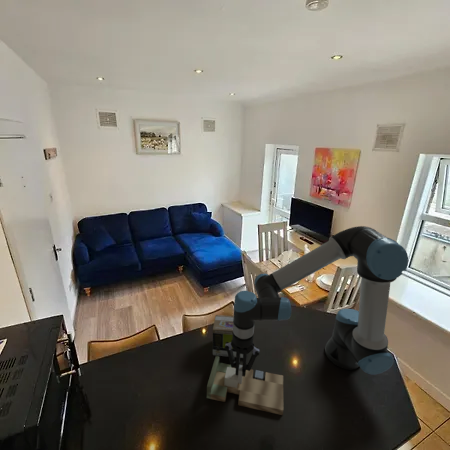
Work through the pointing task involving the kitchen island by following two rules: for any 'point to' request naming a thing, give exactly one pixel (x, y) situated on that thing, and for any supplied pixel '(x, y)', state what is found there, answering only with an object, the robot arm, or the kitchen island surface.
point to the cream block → (231, 378)
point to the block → (259, 375)
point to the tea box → (222, 335)
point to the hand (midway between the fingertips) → (240, 380)
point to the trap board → (248, 389)
